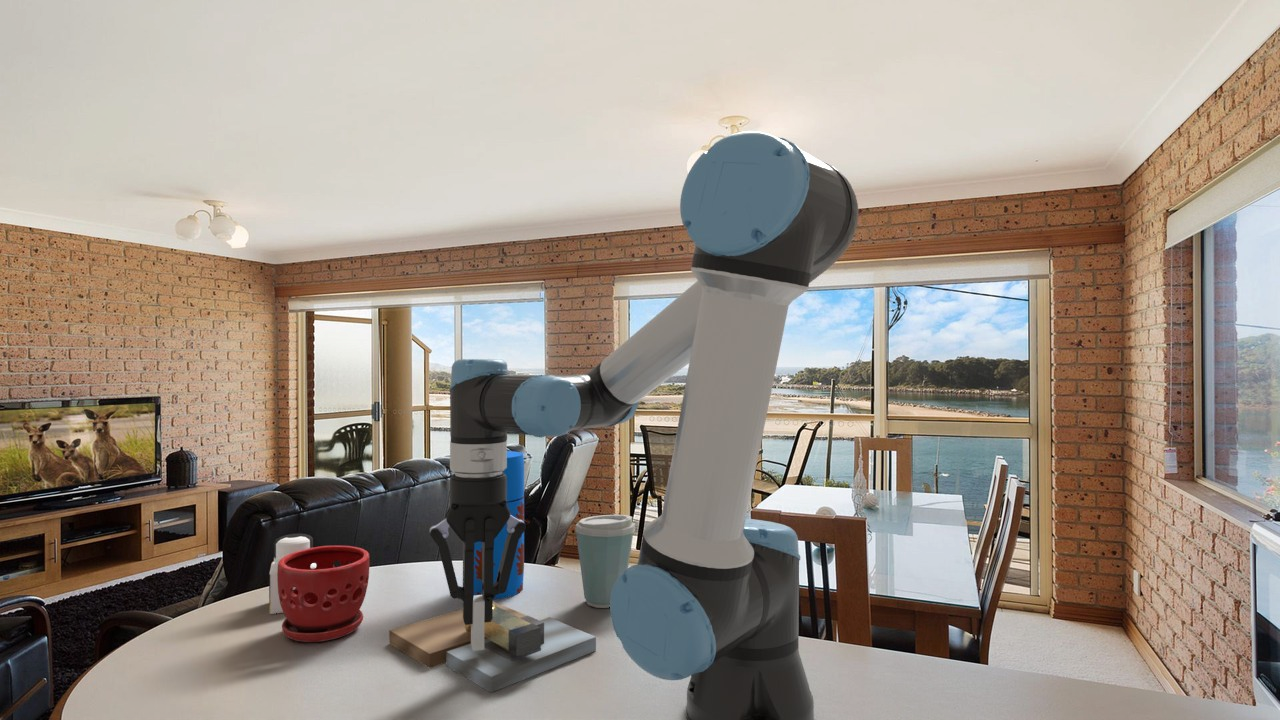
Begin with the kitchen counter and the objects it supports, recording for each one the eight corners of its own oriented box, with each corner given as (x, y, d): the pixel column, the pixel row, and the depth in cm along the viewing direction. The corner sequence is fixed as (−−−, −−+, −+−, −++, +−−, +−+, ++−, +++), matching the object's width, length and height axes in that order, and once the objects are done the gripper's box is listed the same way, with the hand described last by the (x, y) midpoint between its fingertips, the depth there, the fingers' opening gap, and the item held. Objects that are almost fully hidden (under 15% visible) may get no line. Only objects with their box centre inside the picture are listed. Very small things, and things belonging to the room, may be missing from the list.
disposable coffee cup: (563, 607, 120) (563, 520, 120) (591, 588, 129) (591, 508, 129) (619, 616, 115) (619, 526, 115) (644, 596, 125) (644, 513, 125)
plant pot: (257, 644, 104) (257, 564, 104) (317, 613, 117) (317, 542, 117) (332, 653, 101) (332, 570, 101) (386, 620, 114) (386, 547, 114)
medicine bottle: (271, 601, 123) (271, 533, 123) (316, 595, 126) (316, 529, 126) (269, 615, 116) (269, 543, 116) (316, 608, 119) (316, 538, 119)
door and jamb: (596, 650, 102) (596, 616, 102) (477, 697, 88) (477, 658, 88) (501, 609, 119) (501, 580, 119) (389, 643, 104) (389, 610, 104)
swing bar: (459, 626, 104) (459, 603, 104) (485, 619, 107) (485, 597, 107) (514, 660, 92) (514, 634, 92) (542, 650, 95) (542, 625, 95)
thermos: (510, 601, 123) (510, 459, 123) (454, 597, 125) (454, 457, 125) (532, 582, 133) (532, 451, 133) (480, 578, 135) (480, 450, 135)
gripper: (429, 479, 89) (428, 664, 89) (531, 474, 93) (530, 651, 93) (427, 470, 96) (426, 641, 96) (521, 466, 100) (520, 630, 100)
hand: (477, 646), depth 95 cm, fingers closed
